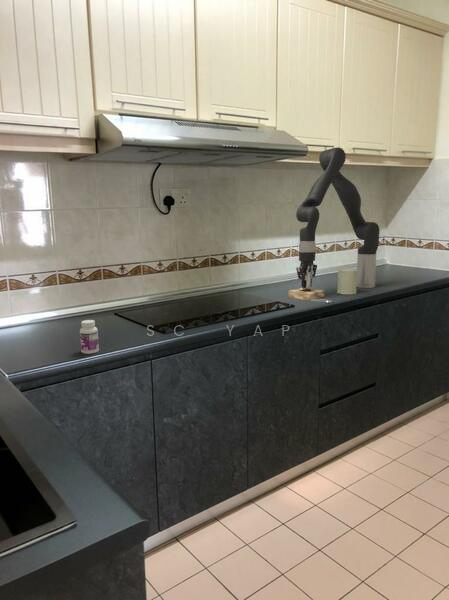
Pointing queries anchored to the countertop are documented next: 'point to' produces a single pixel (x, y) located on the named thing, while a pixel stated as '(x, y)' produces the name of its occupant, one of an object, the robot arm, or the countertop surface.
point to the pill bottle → (89, 337)
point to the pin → (308, 283)
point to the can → (347, 281)
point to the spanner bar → (320, 300)
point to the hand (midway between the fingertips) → (306, 287)
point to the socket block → (306, 294)
